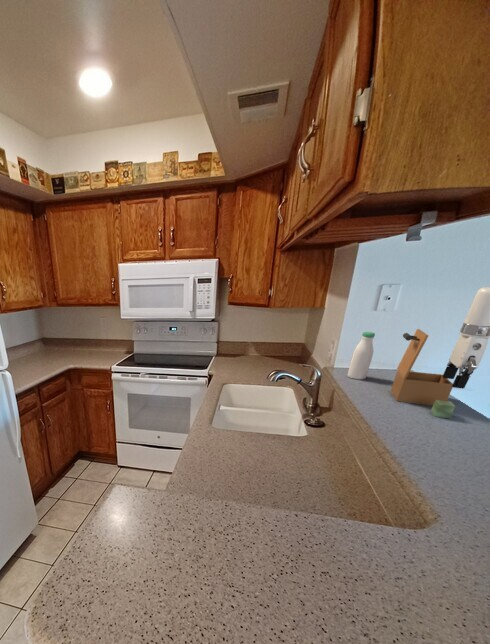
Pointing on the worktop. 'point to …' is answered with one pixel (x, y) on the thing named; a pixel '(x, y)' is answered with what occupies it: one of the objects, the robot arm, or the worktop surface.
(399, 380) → the carton
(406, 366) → the flap
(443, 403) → the block
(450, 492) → the worktop surface
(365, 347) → the milk bottle
